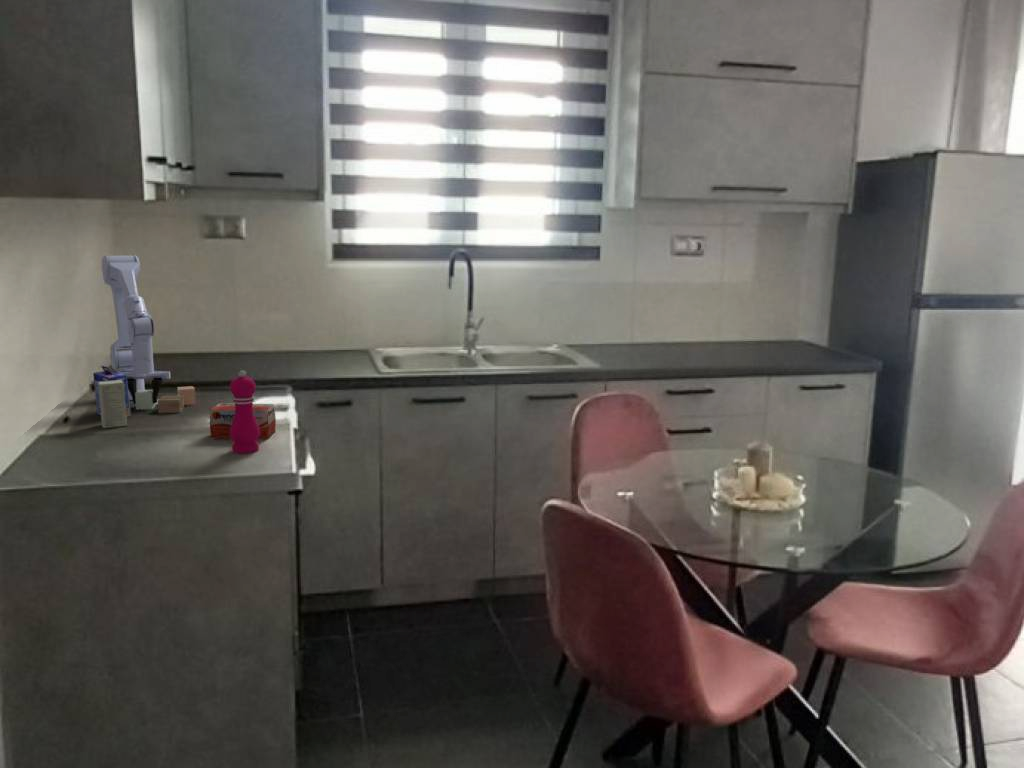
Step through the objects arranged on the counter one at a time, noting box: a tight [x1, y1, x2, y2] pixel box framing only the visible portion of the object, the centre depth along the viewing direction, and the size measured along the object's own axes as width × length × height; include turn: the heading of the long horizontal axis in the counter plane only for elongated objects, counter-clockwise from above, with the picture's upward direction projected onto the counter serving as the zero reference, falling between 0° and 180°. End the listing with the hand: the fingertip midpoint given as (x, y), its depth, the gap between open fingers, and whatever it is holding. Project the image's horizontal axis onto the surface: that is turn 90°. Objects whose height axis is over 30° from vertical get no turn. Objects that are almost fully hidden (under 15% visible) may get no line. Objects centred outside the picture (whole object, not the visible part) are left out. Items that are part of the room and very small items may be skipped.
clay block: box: [177, 385, 197, 406], centre depth 263 cm, size 4×4×5 cm
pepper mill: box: [229, 369, 260, 454], centre depth 212 cm, size 7×7×20 cm
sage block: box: [135, 389, 156, 410], centre depth 257 cm, size 4×4×5 cm
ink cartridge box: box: [92, 365, 131, 418], centre depth 246 cm, size 10×6×14 cm, turn 51°
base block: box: [157, 395, 185, 414], centre depth 254 cm, size 6×6×4 cm
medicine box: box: [209, 403, 277, 440], centre depth 227 cm, size 15×8×8 cm, turn 93°
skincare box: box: [98, 380, 128, 429], centre depth 234 cm, size 6×4×12 cm
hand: (145, 402), depth 257 cm, fingers open, 5 cm apart
